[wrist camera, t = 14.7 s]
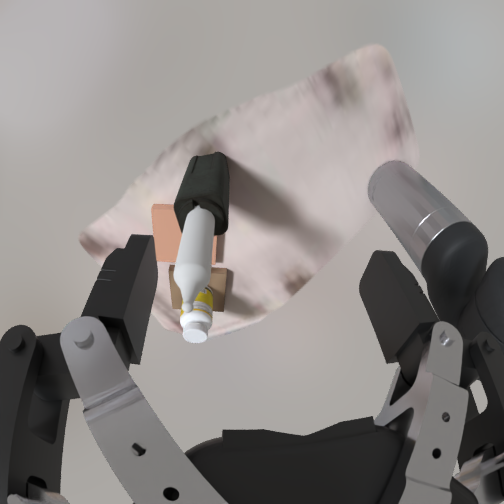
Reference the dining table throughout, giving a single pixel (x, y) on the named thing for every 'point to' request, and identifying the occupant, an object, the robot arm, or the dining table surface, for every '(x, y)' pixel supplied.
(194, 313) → the supplement bottle
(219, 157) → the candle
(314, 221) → the dining table surface
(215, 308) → the walnut mat
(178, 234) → the terracotta tile
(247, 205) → the dining table surface
